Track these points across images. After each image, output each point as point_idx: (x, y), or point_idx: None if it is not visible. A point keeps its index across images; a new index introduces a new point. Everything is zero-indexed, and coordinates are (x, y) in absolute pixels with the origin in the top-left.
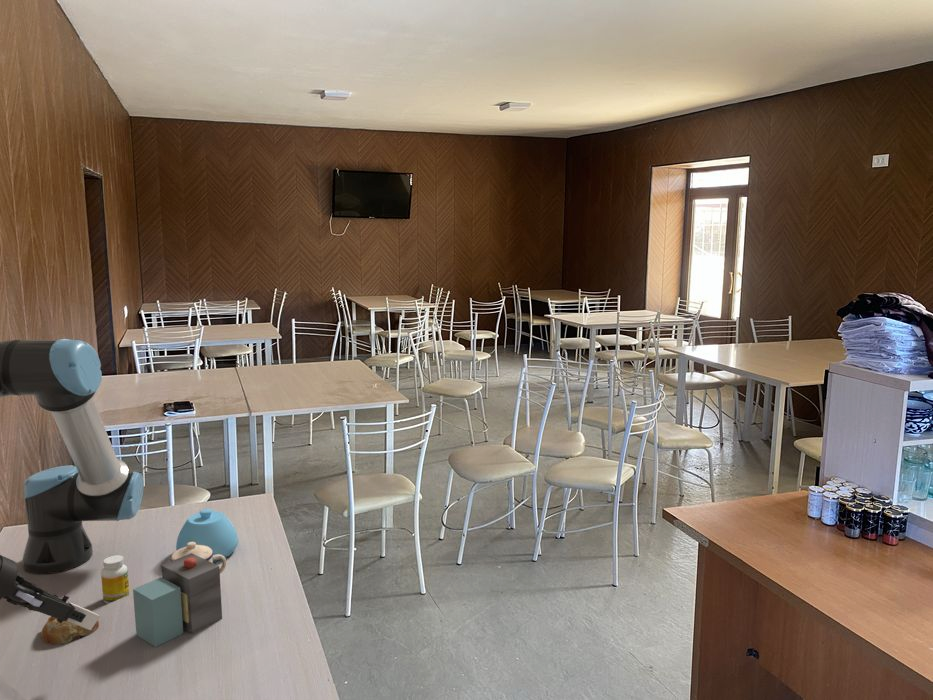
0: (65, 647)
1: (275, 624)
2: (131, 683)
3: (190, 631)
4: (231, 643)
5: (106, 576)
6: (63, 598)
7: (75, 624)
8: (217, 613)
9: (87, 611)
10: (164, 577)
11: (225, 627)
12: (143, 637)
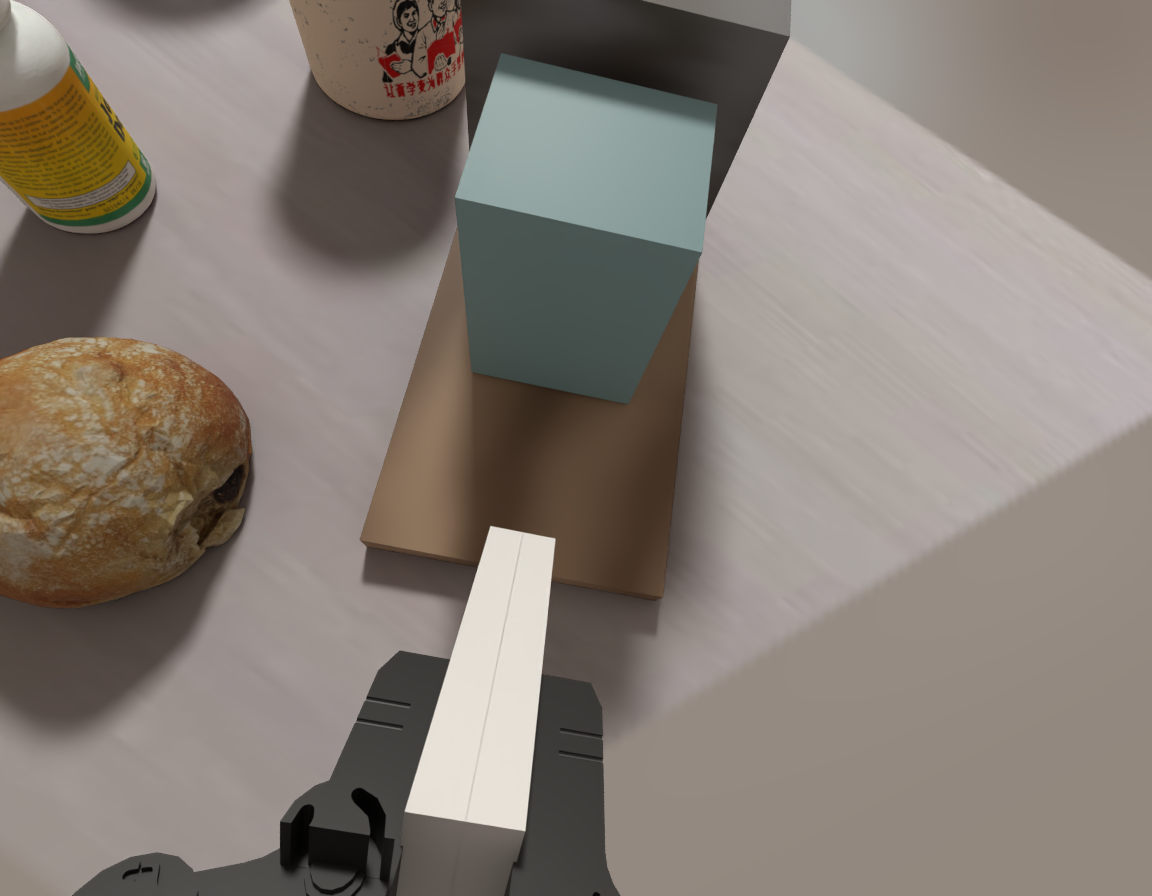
0: None
1: (832, 145)
2: (713, 604)
3: None
4: (806, 268)
5: None
6: (308, 853)
7: (155, 476)
8: None
9: (544, 632)
10: (492, 47)
11: None
12: (533, 379)
